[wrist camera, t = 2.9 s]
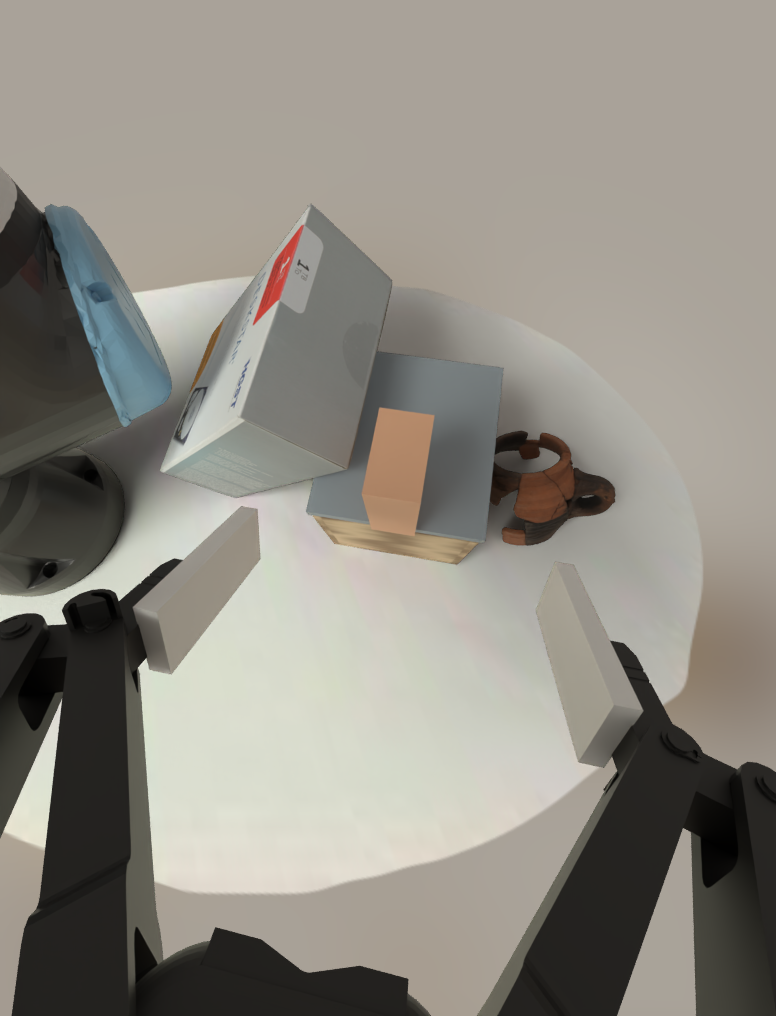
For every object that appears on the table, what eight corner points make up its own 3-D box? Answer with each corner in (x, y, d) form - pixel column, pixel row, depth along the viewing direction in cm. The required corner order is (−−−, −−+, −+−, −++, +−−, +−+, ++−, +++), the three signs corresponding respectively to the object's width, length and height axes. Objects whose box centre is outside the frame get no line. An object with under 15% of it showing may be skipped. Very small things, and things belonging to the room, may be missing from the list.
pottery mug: (471, 548, 37) (468, 484, 32) (481, 484, 44) (480, 422, 38) (609, 561, 34) (634, 491, 28) (598, 489, 40) (617, 421, 34)
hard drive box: (209, 332, 38) (312, 196, 24) (277, 373, 43) (398, 280, 28) (155, 473, 34) (239, 415, 19) (237, 501, 39) (355, 471, 24)
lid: (306, 521, 27) (269, 479, 19) (347, 354, 32) (330, 263, 24) (482, 550, 26) (518, 518, 19) (500, 374, 31) (536, 286, 23)
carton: (334, 543, 37) (312, 516, 28) (362, 418, 41) (351, 355, 32) (457, 564, 36) (478, 543, 27) (473, 434, 40) (496, 374, 31)
